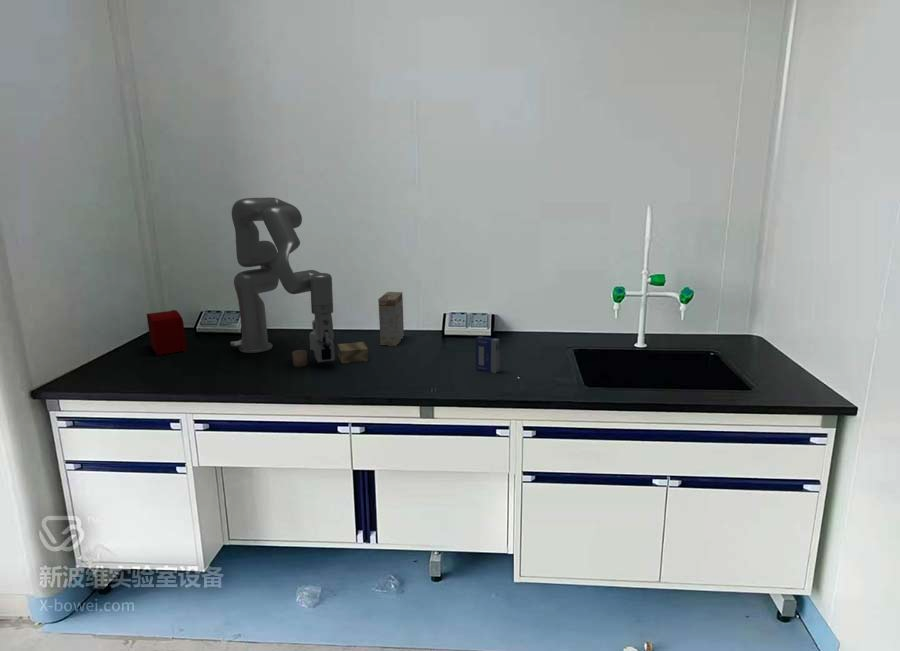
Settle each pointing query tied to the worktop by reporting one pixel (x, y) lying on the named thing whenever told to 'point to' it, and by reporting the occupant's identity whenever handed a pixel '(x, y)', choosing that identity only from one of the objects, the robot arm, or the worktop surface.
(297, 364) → the terracotta cylinder
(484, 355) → the walkman
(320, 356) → the grey cube
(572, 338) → the worktop surface
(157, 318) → the fire alarm
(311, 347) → the medicine bottle
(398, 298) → the coffeecake box
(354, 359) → the oak block
